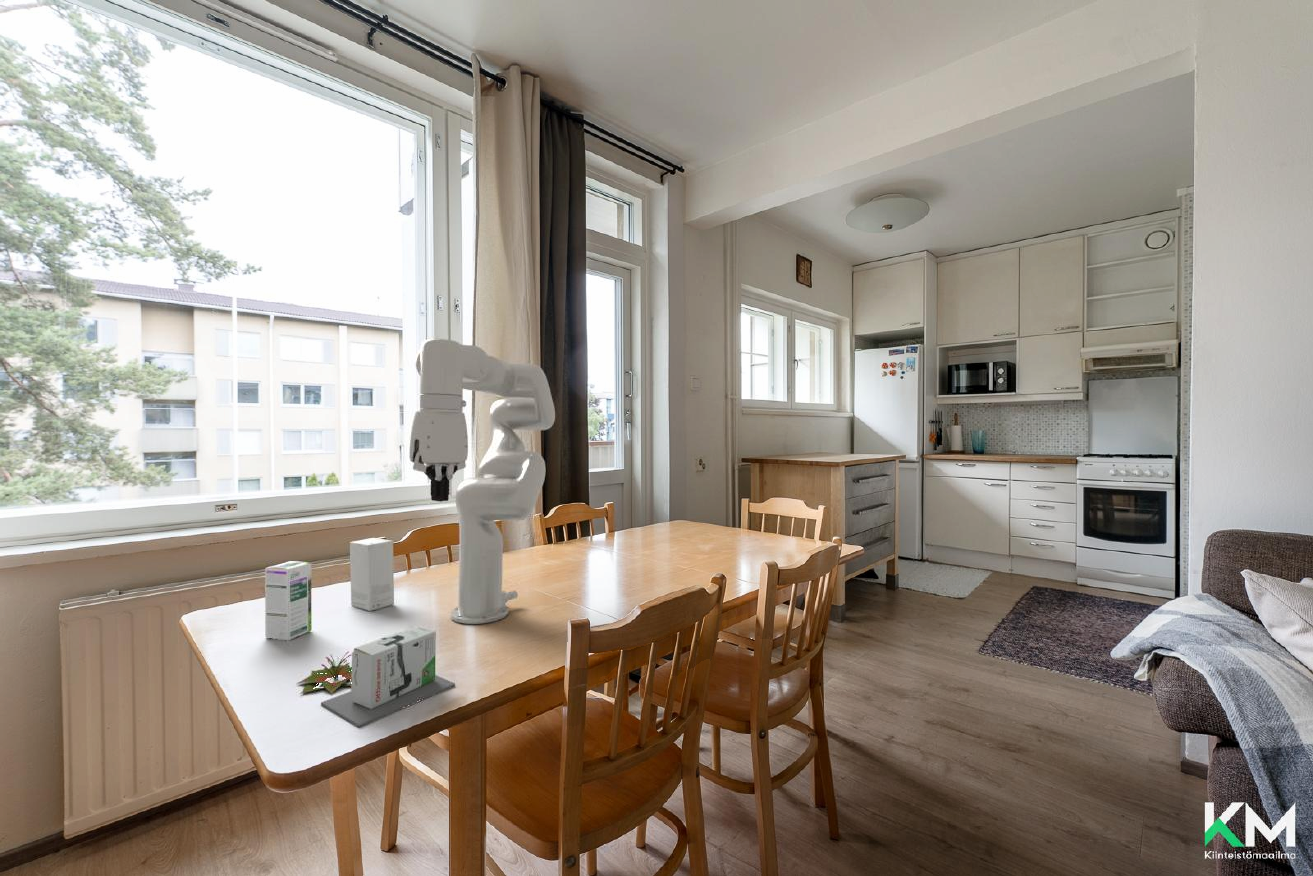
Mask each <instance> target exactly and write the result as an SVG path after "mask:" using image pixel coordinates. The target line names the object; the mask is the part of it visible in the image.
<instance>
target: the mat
mask: <svg viewBox="0 0 1313 876" xmlns="http://www.w3.org/2000/svg"><path fill="white" fill-rule="evenodd" d="M453 686H454V687H456V683H455V682H453V681H450V680H448V679H445V678H443V677H441V676H439V675H437V674H435V680H433V681H431V682H429V683H427V684H425V685H423V686H420V687H418V688H416V689H414V690H412V691H410V692H407V693H405V694H403V695H401V696H399V697H396V698H395V699H392V700H390V701H388V702H386V703H384V704H381V705H379V706H377V707H375V708H373V709H369V708H367V707H365V706H362V705H360V704H358V703H355V702H353V701H352V699H351V690H350V691H348V692H345V693H342V694H340V695H337V696H335V697H332V698H329V699H326V700H324V701H321V702H320V706H322V707H324V708H325V709H327V710H329V711H331V712H332V713H334V714H335V715H337V716H338V717H340V718H342V719H344V720H346V721H347V722H349V723H350V724H352V725H354V726H355V725H356V727H357V726H358V727H357V728H361V726H362V727H364V726H366V725H368V724H367V723H369V724H371V723H373V722H376V721H377V720H381V719H383V718H385V717H387V716H389V715H392V714H394V713H396V712H398V711H397V710H399V711H400V709H401V710H403V709H404V708H403V707H405V708H407V707H406V706H408V705H410V706H412V705H414V704H413V703H415V702H417V701H419V700H422V699H424V698H426V697H428V696H431V697H433V696H435V695H438V694H439V692H440V693H442V692H444V690H445V691H447V690H449V689H451V688H454V687H453ZM450 687H451V688H450ZM448 688H449V689H448ZM446 689H447V690H446ZM441 691H442V692H441ZM437 693H438V694H437ZM434 694H435V695H434ZM432 695H433V696H432ZM428 698H429V697H428ZM426 699H427V698H426ZM424 700H425V699H424ZM422 701H423V700H422ZM419 702H420V701H419ZM417 703H418V702H417ZM415 704H416V703H415ZM408 707H409V706H408ZM402 708H403V709H402ZM395 711H396V712H395ZM393 712H394V713H393ZM388 714H389V715H388ZM386 715H387V716H386ZM375 720H376V721H375ZM365 724H366V725H365ZM363 725H364V726H363Z"/></svg>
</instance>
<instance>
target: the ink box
mask: <svg viewBox="0 0 1313 876" xmlns="http://www.w3.org/2000/svg"><path fill="white" fill-rule="evenodd" d="M436 640H437V632H436V630H433V629H430V628H428V627H427V628H426V627H424V626H420V625H416V626H413V627H411V628H408V629H404V630H402V631H399V632H396V633H393V634H390V635H388V636H385V637H383V638H379V639H377V640H373V641H371V642H368V643H365V644H362V645H359V646H356V647H354V648H353V651H352V652H351V654H352V656H351V667H352V675H351V682H352V684H351V683H350V684H351V686H350V688H351V689H350V691H351V699H352V701H353V702H355V703H358V704H360V705H362V706H365V707H367V708H369V709H373V708H375V707H377V706H379V705H381V704H384V703H386V702H388V701H390V700H392V699H395V698H396V697H399V696H401V695H403V694H405V693H407V692H410V691H412V690H414V689H416V688H418V687H420V686H423V685H425V684H427V683H429V682H431V681H433V680H435V675H436V653H437V651H436V650H437V648H436V647H437V641H436Z"/></svg>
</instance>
